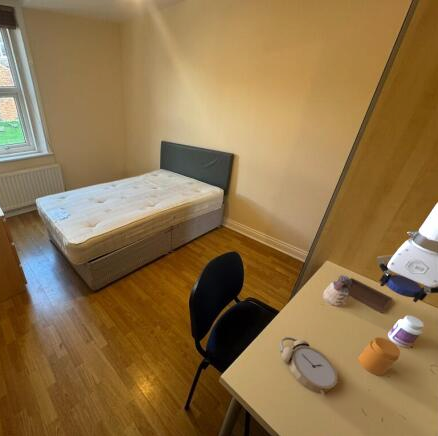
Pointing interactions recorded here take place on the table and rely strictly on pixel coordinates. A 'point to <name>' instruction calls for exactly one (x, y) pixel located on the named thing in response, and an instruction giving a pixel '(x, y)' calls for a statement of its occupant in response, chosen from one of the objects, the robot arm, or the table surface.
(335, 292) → the figurine
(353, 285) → the tray
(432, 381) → the table surface
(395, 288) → the lid
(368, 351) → the jar
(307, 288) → the table surface
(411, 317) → the pill bottle
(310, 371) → the alarm clock
